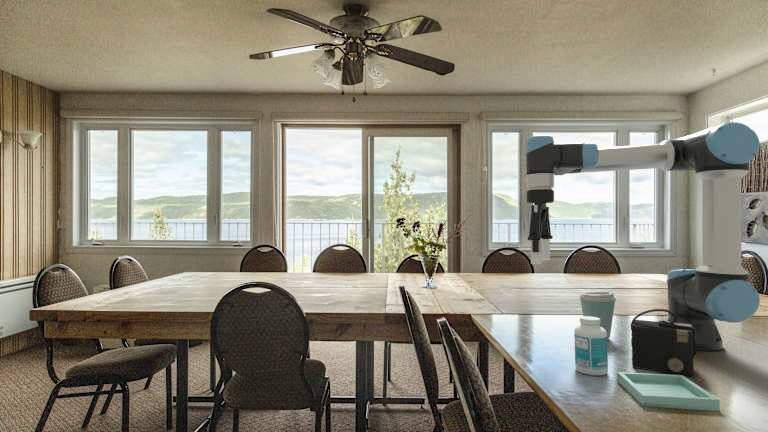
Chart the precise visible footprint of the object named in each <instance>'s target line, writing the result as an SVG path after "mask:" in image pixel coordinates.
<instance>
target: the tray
mask: <svg viewBox="0 0 768 432" xmlns="http://www.w3.org/2000/svg"><path fill="white" fill-rule="evenodd" d="M616 381H617V382H618V384H620V386H621V387H622V388H623V389H625V391H626V392H628V393H629V394H630V395H631V396H632V397H633V398H634V400H636V401H637V402H638V403H639V404H640V405H641V406H642V407H651V408H667V409H679V410H680V409H682V410H694V411H695V410H697V411H714V412H721V411H720V410H721V400H720V399H719V398H717V396H714V395H713V394H712V393H710V392H709V391H707V390H705V389H704V388H702V387H701V386H700V385H698V384H696V383H695V382H694V381H692V380H691V379H689V378H688V377H686V376H685V375H681V374H670V373H669V374H668V373H667V374H666V373H646V372H645V373H644V372H627V371H626V372H625V371H616Z"/></svg>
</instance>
